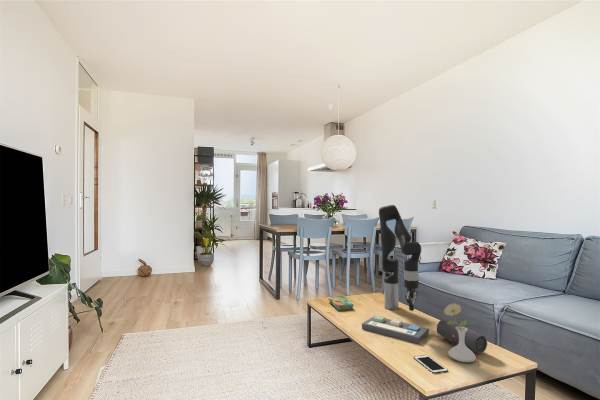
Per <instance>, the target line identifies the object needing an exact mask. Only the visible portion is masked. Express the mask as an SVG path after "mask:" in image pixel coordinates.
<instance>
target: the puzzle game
mask: <svg viewBox="0 0 600 400" xmlns="http://www.w3.org/2000/svg"><path fill="white" fill-rule="evenodd" d="M327 300H328V301H329V302H330V304H331V305H332V306H333V307H334V308H335V309H336V310H337V311H345V310H352V309H353V307H354V305H355V304H354V303H353V302H351V301H350V300H349V299H348V298H347V297H345V296H344V295H341V296H339V295H338V296H329V297H327Z"/></svg>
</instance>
